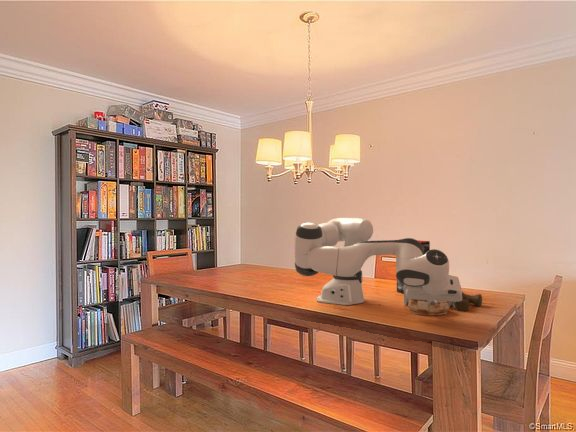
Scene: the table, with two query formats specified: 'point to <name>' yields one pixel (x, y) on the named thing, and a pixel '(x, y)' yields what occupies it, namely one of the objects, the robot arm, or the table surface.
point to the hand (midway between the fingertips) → (432, 303)
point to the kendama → (468, 302)
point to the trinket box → (428, 307)
